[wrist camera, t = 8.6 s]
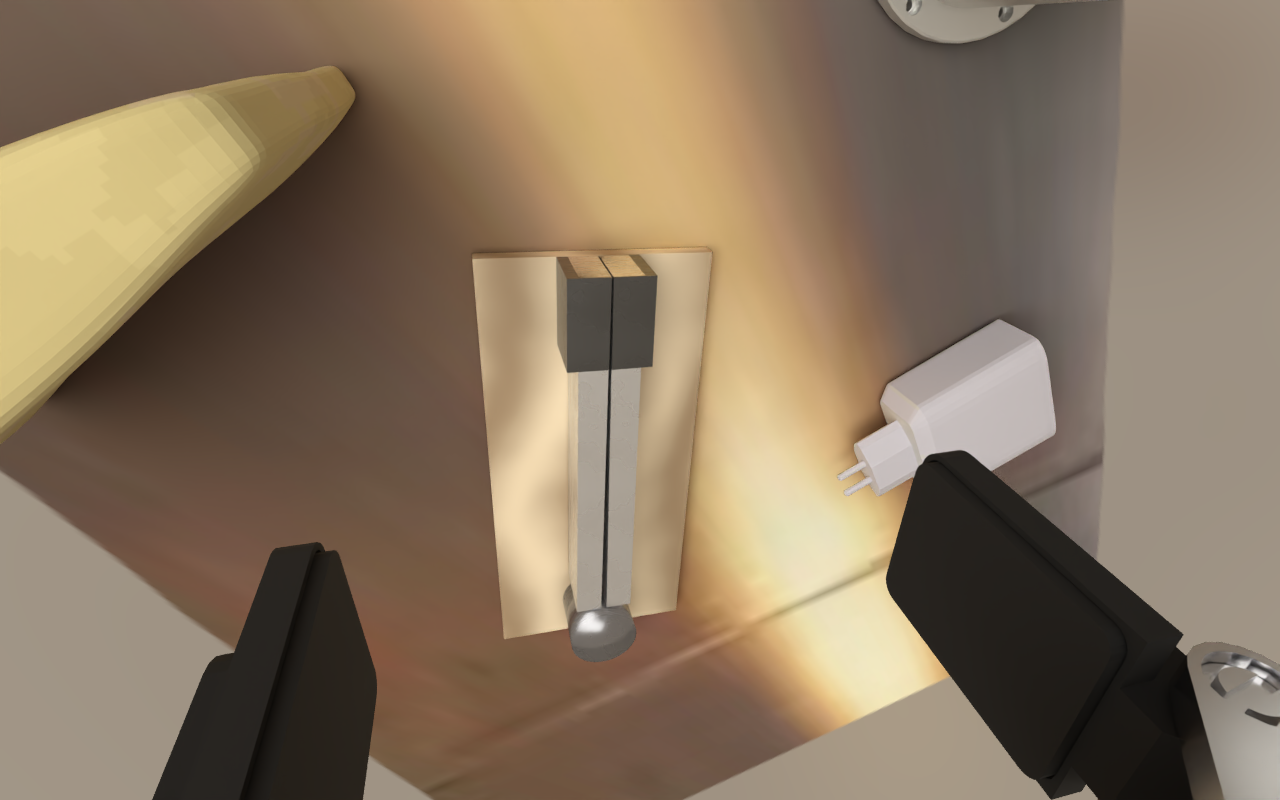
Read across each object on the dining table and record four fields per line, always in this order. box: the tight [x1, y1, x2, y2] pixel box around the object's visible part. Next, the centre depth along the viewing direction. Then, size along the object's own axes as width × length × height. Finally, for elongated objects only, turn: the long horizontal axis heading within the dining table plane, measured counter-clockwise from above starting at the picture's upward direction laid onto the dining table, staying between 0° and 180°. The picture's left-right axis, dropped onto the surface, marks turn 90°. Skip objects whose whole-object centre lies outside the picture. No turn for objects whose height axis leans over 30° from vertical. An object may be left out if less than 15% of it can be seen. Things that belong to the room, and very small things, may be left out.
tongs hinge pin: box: [563, 584, 636, 662], centre depth 44 cm, size 4×4×4 cm
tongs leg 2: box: [599, 255, 658, 607], centre depth 38 cm, size 22×2×4 cm, turn 178°
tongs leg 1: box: [556, 256, 612, 612], centre depth 37 cm, size 22×2×4 cm, turn 177°
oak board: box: [472, 247, 713, 639], centre depth 41 cm, size 13×28×1 cm, turn 178°
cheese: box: [0, 66, 355, 444], centre depth 22 cm, size 22×10×15 cm, turn 117°
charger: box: [837, 319, 1056, 496], centre depth 45 cm, size 5×9×15 cm
